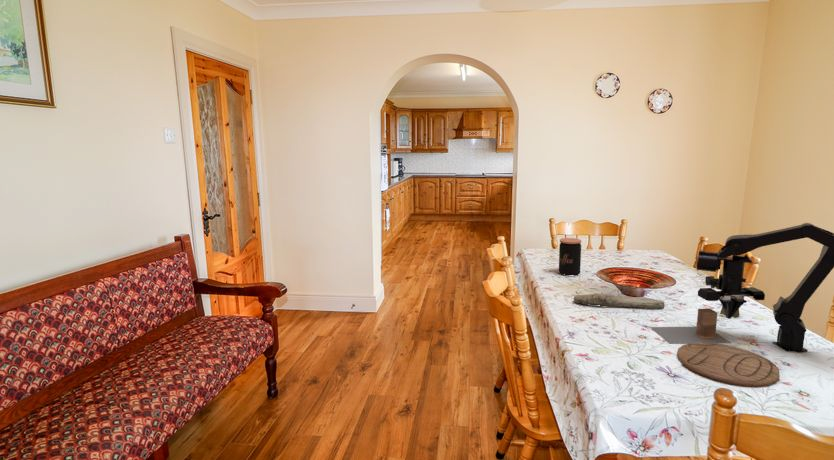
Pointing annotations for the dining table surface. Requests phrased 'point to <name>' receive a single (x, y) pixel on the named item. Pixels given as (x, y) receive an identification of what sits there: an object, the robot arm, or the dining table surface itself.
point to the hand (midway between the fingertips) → (728, 318)
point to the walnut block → (706, 323)
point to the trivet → (728, 364)
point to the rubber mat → (685, 335)
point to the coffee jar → (570, 256)
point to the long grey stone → (619, 301)
